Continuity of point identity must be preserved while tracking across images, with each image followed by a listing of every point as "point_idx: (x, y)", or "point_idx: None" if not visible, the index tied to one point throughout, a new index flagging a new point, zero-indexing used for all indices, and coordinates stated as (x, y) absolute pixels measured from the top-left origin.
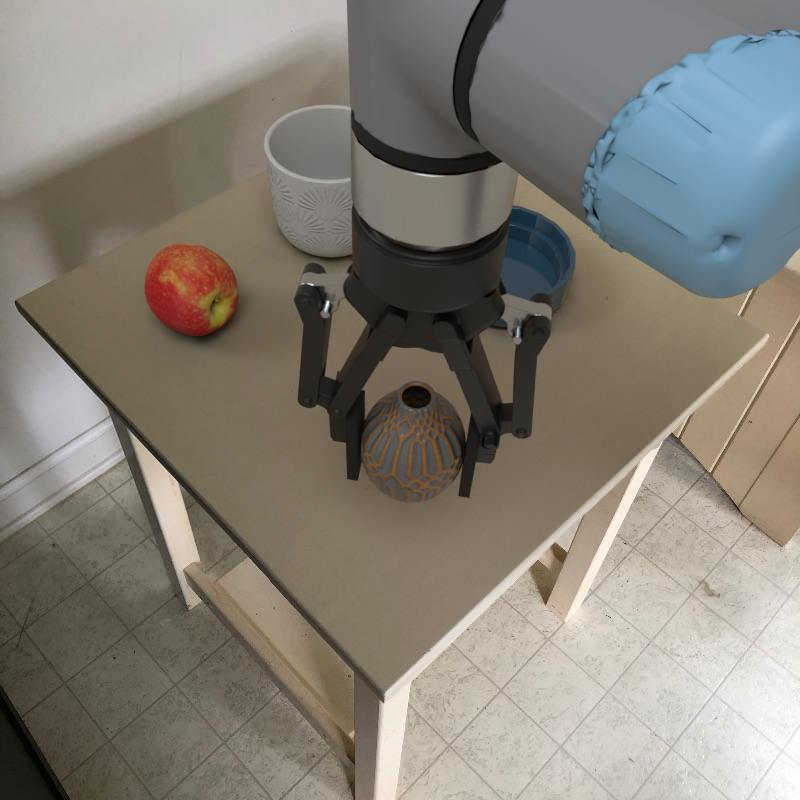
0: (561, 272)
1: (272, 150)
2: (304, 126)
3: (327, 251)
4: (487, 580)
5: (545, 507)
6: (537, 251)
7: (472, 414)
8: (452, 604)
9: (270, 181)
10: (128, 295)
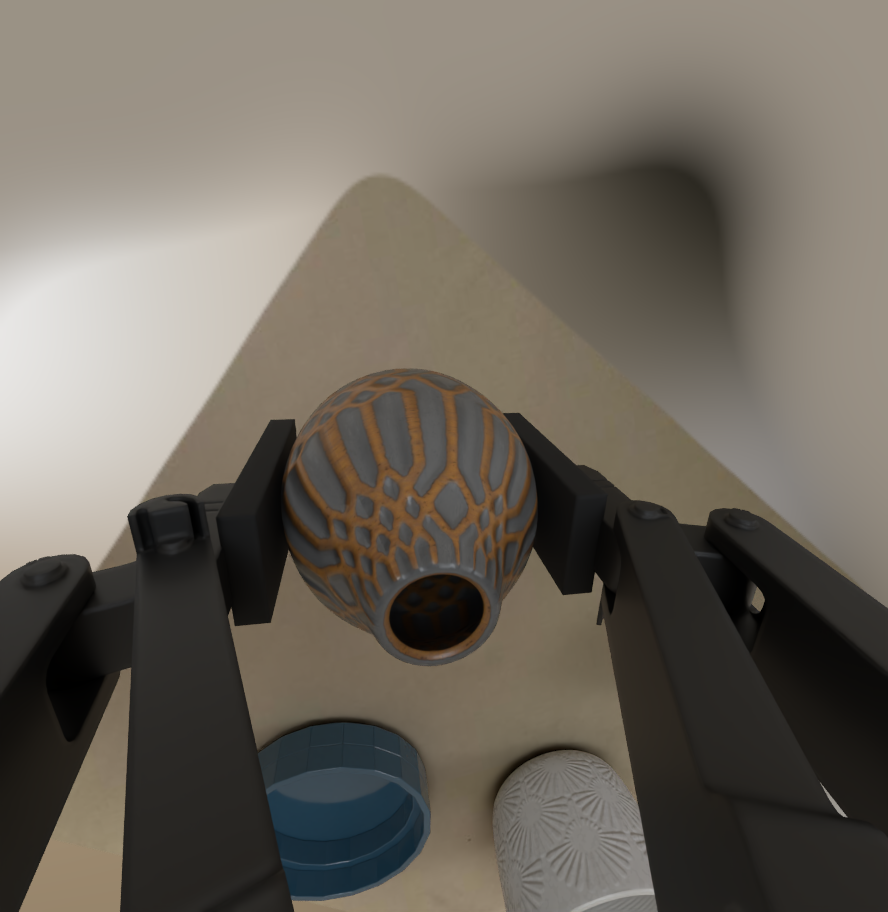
0: None
1: None
2: None
3: (557, 763)
4: (254, 352)
5: (193, 483)
6: (290, 834)
7: (222, 600)
8: (298, 303)
9: None
10: None
